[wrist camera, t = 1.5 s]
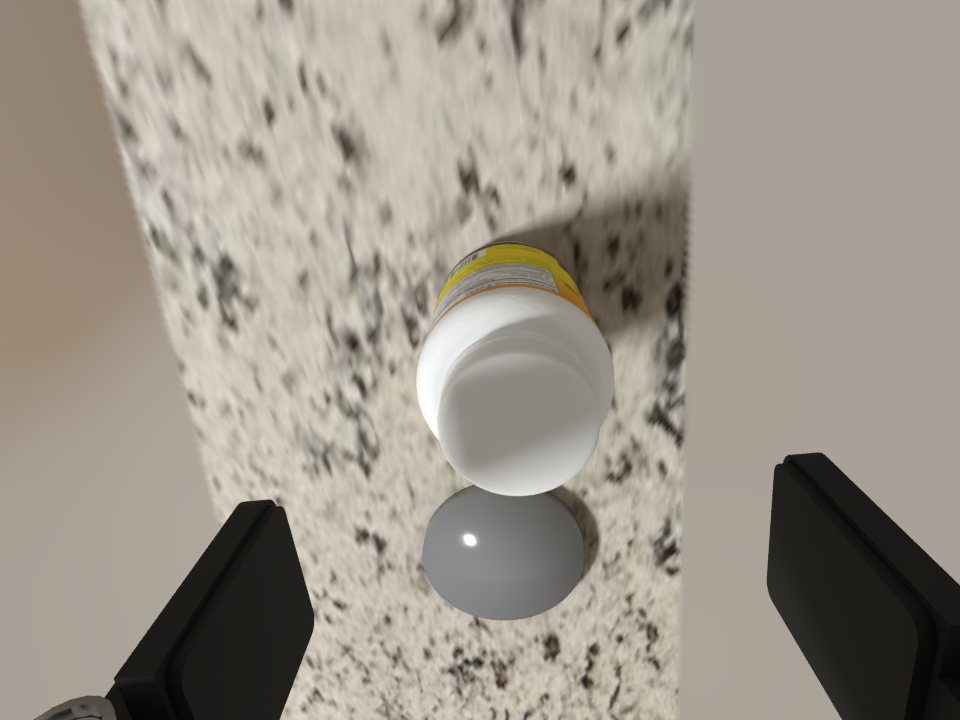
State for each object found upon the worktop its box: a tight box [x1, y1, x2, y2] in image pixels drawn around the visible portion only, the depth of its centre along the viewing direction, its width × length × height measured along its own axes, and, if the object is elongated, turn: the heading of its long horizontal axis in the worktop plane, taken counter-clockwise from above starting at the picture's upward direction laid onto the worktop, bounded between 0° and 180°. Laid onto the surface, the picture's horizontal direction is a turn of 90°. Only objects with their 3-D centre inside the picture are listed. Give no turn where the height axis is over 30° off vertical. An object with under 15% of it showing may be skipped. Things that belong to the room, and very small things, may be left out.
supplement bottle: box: [417, 241, 614, 496], centre depth 19 cm, size 6×6×10 cm
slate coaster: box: [423, 485, 585, 620], centre depth 27 cm, size 8×8×1 cm
